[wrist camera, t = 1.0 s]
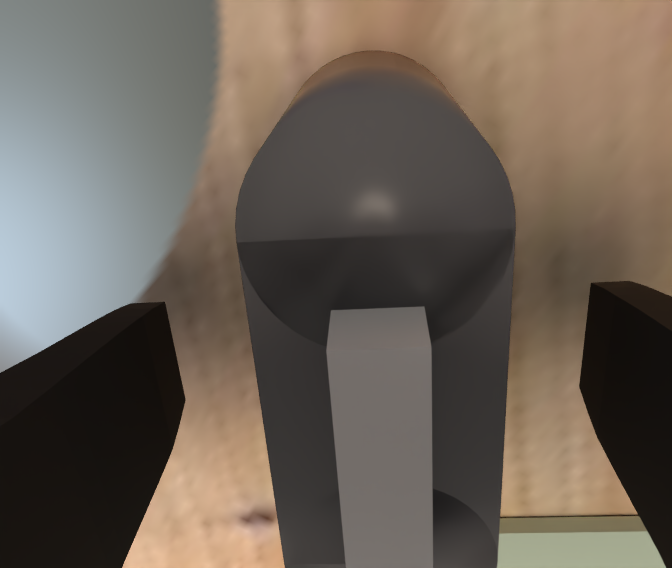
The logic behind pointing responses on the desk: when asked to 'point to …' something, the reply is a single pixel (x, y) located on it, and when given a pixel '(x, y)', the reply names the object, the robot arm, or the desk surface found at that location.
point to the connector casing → (380, 319)
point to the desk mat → (576, 543)
